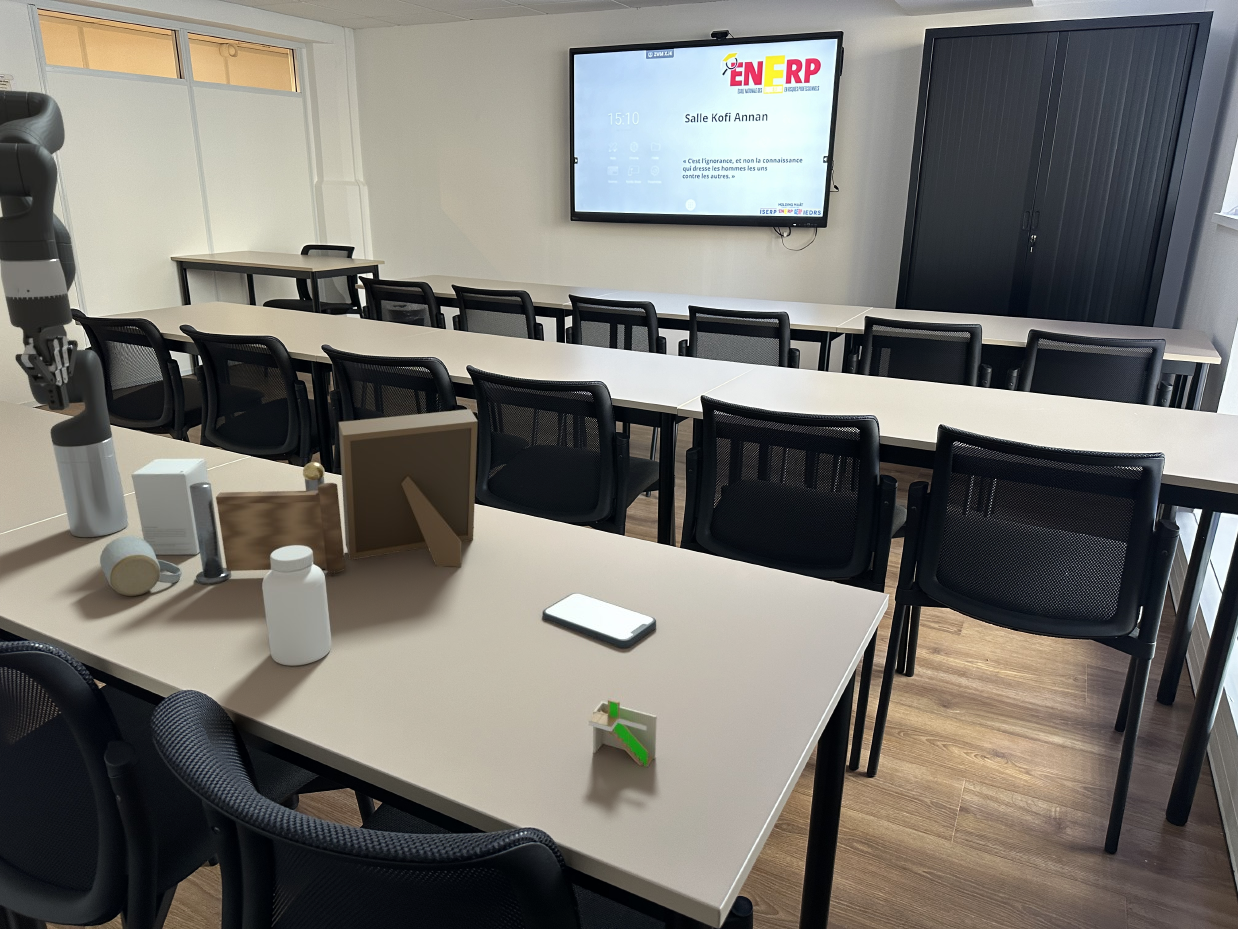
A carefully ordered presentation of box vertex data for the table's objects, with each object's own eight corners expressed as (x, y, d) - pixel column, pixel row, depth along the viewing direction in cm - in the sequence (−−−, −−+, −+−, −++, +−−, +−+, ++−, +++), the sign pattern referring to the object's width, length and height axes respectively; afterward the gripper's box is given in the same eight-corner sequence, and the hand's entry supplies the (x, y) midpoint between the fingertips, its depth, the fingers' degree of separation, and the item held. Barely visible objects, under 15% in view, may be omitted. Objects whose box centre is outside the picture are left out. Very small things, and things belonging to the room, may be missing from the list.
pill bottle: (344, 643, 120) (334, 545, 115) (307, 672, 113) (294, 569, 108) (297, 633, 122) (285, 537, 118) (258, 661, 115) (244, 560, 111)
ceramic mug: (113, 604, 130) (105, 558, 128) (103, 585, 136) (96, 540, 134) (188, 586, 137) (182, 542, 134) (176, 569, 143) (170, 526, 140)
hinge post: (203, 571, 141) (189, 480, 136) (235, 570, 142) (222, 479, 137) (191, 585, 137) (176, 491, 131) (225, 584, 137) (211, 490, 132)
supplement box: (219, 535, 156) (207, 457, 151) (197, 555, 147) (184, 473, 143) (168, 535, 156) (155, 457, 151) (144, 555, 147) (129, 473, 142)
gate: (226, 575, 138) (213, 491, 133) (232, 567, 141) (220, 484, 136) (343, 572, 139) (334, 488, 135) (347, 564, 142) (339, 482, 138)
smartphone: (538, 621, 128) (625, 653, 119) (538, 612, 127) (625, 643, 119) (575, 599, 135) (660, 628, 126) (575, 590, 134) (660, 618, 125)
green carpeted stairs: (642, 781, 94) (643, 719, 91) (586, 764, 96) (586, 703, 94) (655, 760, 97) (657, 699, 95) (601, 744, 100) (601, 685, 97)
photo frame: (346, 550, 150) (333, 413, 142) (466, 531, 159) (461, 401, 151) (360, 585, 137) (347, 437, 129) (490, 562, 146) (486, 423, 138)
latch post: (311, 557, 147) (300, 458, 142) (342, 556, 148) (332, 457, 142) (303, 570, 142) (292, 467, 137) (335, 568, 143) (325, 467, 137)
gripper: (39, 297, 116) (63, 420, 122) (86, 286, 129) (106, 398, 134) (-20, 297, 115) (7, 421, 121) (33, 286, 128) (56, 398, 133)
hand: (59, 408), depth 127 cm, fingers closed
